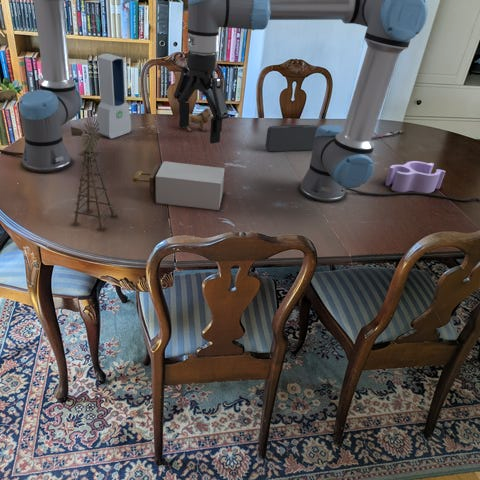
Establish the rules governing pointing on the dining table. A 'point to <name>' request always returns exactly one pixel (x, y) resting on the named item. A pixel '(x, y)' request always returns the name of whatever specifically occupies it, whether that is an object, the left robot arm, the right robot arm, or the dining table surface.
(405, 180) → the clip
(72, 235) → the dining table surface
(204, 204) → the cabinet
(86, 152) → the miniature windmill
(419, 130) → the dining table surface
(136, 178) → the drawer
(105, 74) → the electronic device
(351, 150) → the right robot arm
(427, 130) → the dining table surface
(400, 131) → the sword
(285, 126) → the handheld gaming console
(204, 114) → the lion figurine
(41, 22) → the left robot arm
